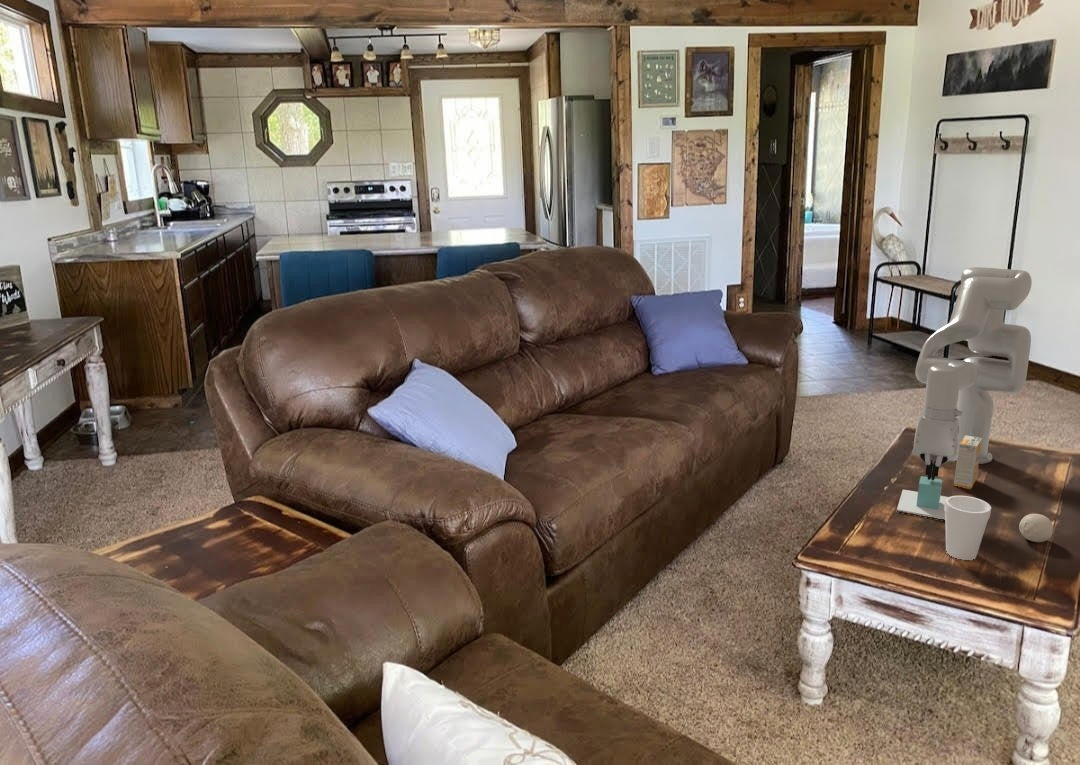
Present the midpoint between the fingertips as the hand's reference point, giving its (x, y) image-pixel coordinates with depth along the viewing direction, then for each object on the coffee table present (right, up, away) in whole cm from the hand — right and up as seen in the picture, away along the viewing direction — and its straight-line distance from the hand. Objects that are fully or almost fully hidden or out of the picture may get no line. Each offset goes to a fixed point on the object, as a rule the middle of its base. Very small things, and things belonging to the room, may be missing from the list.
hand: (931, 478), depth 209 cm
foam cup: (-4, -16, -22) cm, 27 cm away
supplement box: (+18, -4, +16) cm, 24 cm away
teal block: (0, -7, +2) cm, 8 cm away
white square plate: (0, -8, +3) cm, 8 cm away
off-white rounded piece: (+17, -13, -16) cm, 27 cm away
